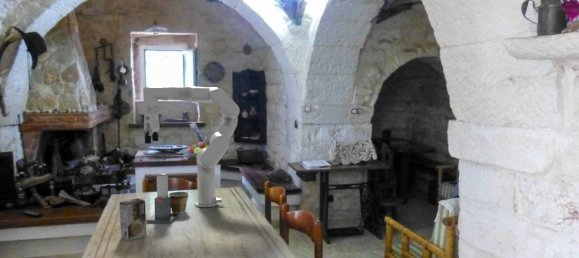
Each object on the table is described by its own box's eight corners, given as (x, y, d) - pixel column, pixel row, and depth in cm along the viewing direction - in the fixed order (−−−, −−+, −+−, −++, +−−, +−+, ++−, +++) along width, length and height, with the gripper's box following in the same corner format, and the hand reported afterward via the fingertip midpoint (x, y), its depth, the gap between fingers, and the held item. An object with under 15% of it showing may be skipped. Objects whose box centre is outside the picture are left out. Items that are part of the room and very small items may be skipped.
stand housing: (179, 216, 232) (178, 194, 231) (170, 223, 220) (169, 200, 219) (156, 215, 233) (155, 193, 232) (146, 222, 222) (145, 199, 220)
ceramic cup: (192, 212, 240) (192, 193, 239) (175, 216, 232) (175, 197, 231) (178, 207, 248) (178, 189, 247) (162, 211, 241) (161, 192, 240)
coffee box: (138, 232, 207) (137, 197, 205) (146, 235, 203) (145, 200, 201) (120, 237, 200) (119, 201, 198) (128, 241, 196) (127, 204, 194)
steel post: (168, 204, 228) (167, 173, 226) (165, 207, 224) (164, 175, 222) (160, 204, 228) (159, 173, 227) (157, 206, 224) (156, 174, 223)
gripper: (151, 111, 231) (152, 144, 233) (164, 109, 248) (164, 140, 250) (137, 110, 232) (138, 144, 233) (150, 108, 249) (151, 140, 251)
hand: (151, 142), depth 242 cm, fingers open, 9 cm apart
